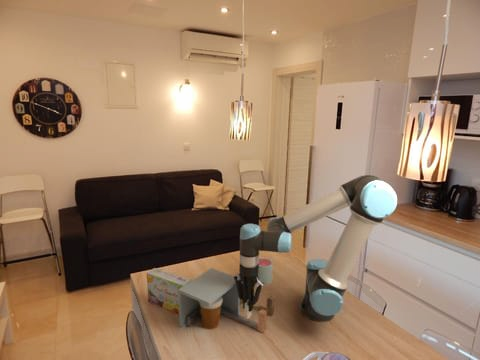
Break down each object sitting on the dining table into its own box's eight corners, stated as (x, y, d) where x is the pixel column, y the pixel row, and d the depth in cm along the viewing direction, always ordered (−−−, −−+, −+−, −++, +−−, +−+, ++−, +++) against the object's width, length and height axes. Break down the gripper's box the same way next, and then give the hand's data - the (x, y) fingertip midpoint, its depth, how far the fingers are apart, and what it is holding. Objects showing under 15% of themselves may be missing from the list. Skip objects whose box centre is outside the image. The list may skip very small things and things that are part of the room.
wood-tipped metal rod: (266, 329, 124) (267, 311, 122) (244, 354, 110) (245, 335, 109) (212, 305, 138) (212, 289, 137) (187, 325, 125) (186, 308, 123)
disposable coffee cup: (219, 333, 121) (219, 306, 119) (195, 330, 123) (195, 303, 120) (225, 318, 130) (225, 292, 128) (203, 315, 132) (203, 289, 130)
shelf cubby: (239, 313, 133) (240, 278, 130) (209, 342, 116) (209, 302, 113) (211, 301, 142) (211, 268, 138) (179, 327, 124) (178, 289, 121)
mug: (267, 286, 155) (268, 268, 152) (251, 281, 159) (251, 263, 157) (278, 274, 166) (279, 257, 164) (263, 270, 171) (264, 253, 169)
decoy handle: (274, 313, 134) (274, 296, 132) (271, 316, 132) (272, 299, 130) (234, 297, 145) (235, 282, 143) (231, 300, 143) (231, 284, 141)
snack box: (147, 303, 140) (145, 272, 136) (155, 296, 145) (154, 267, 141) (185, 317, 130) (184, 285, 127) (193, 310, 135) (192, 279, 132)
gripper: (268, 264, 121) (266, 317, 126) (240, 255, 128) (239, 306, 133) (258, 272, 115) (257, 328, 120) (229, 262, 122) (229, 315, 127)
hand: (247, 316), depth 126 cm, fingers closed
